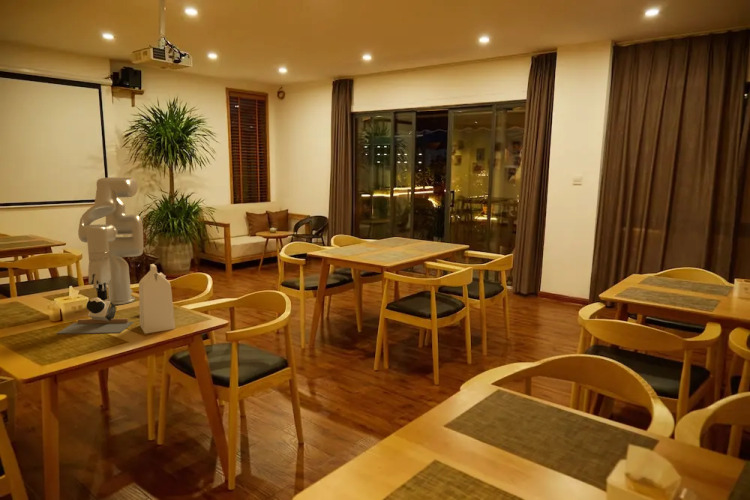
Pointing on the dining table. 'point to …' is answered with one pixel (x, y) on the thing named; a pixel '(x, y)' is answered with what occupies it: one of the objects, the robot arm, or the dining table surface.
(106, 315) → the medicine bottle
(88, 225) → the robot arm
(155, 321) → the milk
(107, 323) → the tipping mat
